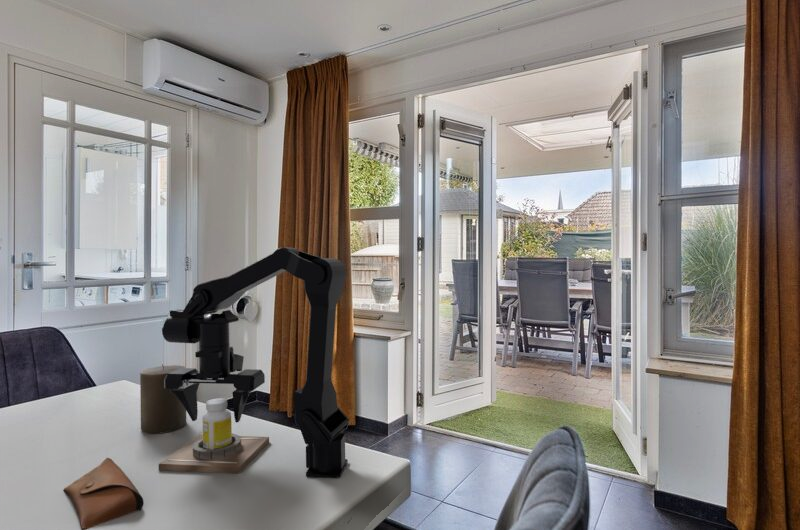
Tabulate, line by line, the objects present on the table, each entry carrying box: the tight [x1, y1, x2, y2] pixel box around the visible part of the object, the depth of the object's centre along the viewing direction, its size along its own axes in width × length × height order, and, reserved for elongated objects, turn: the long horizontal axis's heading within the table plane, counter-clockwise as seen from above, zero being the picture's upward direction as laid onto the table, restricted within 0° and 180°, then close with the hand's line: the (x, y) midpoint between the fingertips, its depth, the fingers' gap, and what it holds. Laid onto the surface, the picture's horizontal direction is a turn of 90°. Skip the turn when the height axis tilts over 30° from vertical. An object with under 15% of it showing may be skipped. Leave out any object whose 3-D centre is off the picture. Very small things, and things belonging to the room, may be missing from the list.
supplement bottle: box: [202, 397, 233, 450], centre depth 92 cm, size 5×5×10 cm
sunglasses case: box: [63, 457, 144, 530], centre depth 77 cm, size 18×7×7 cm, turn 46°
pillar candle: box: [139, 364, 187, 435], centre depth 108 cm, size 10×10×15 cm
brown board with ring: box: [158, 433, 270, 474], centre depth 92 cm, size 16×14×3 cm
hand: (216, 421), depth 92 cm, fingers open, 9 cm apart
